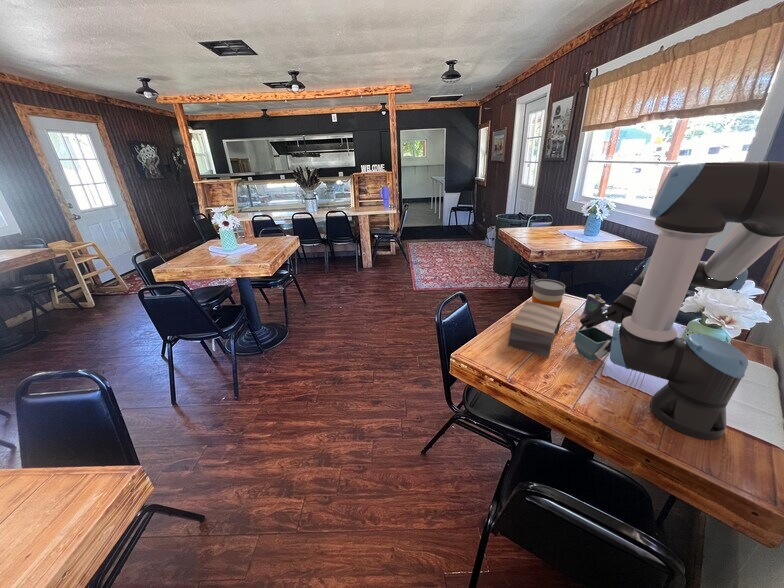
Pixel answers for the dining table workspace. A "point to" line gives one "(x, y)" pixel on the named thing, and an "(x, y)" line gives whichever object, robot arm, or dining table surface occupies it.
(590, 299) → the flask
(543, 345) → the grey wooden block
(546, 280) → the reusable coffee cup
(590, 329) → the flower pot
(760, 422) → the dining table surface
